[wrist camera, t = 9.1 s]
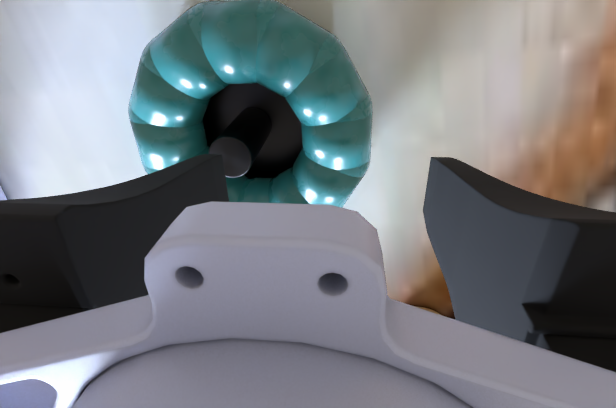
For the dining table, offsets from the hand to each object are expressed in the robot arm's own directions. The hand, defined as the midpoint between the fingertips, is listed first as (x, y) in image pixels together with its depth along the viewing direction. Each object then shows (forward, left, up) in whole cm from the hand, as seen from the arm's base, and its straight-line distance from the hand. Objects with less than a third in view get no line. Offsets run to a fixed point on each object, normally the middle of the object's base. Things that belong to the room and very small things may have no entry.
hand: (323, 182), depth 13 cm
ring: (-4, 0, -5) cm, 6 cm away
